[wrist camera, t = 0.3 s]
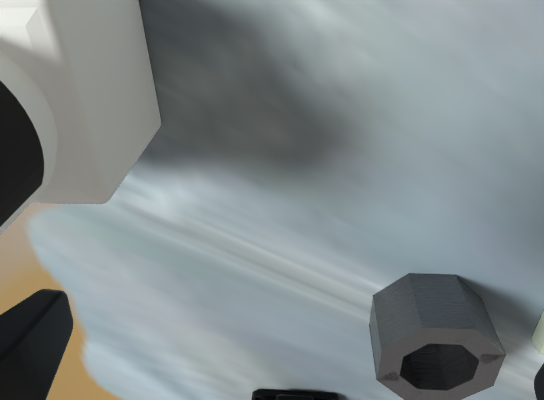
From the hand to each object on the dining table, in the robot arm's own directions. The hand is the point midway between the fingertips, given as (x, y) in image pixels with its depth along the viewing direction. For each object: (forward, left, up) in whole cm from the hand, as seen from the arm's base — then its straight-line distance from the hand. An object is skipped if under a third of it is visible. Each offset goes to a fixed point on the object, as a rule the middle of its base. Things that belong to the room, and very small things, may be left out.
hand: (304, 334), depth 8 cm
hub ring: (-15, -7, -14) cm, 22 cm away
